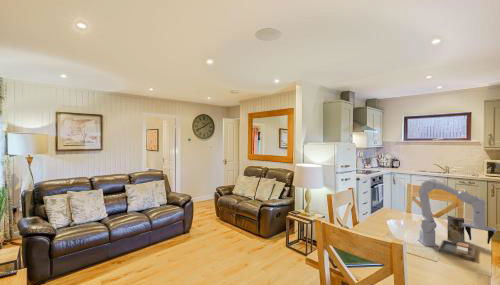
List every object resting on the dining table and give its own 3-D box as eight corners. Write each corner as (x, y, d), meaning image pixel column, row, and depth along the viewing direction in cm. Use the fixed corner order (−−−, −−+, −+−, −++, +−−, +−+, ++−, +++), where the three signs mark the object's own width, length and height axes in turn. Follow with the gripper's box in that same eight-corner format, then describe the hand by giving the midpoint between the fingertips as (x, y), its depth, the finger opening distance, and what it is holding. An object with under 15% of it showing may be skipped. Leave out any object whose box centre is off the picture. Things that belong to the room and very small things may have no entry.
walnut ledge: (454, 256, 146) (454, 252, 146) (456, 245, 161) (456, 242, 161) (474, 261, 140) (474, 258, 140) (475, 249, 154) (475, 246, 154)
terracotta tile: (457, 247, 154) (457, 244, 154) (458, 244, 157) (458, 242, 157) (468, 249, 150) (468, 246, 150) (468, 247, 154) (468, 244, 154)
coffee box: (464, 240, 168) (465, 218, 167) (464, 243, 163) (464, 220, 163) (447, 237, 174) (448, 215, 174) (447, 240, 169) (447, 217, 169)
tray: (439, 251, 152) (439, 248, 152) (442, 242, 165) (442, 239, 165) (454, 255, 147) (454, 252, 147) (456, 246, 160) (456, 243, 160)
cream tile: (456, 251, 148) (456, 248, 148) (457, 248, 152) (457, 246, 152) (467, 254, 145) (467, 251, 145) (468, 251, 148) (468, 248, 148)
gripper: (462, 217, 145) (462, 240, 145) (496, 223, 135) (496, 247, 135) (463, 215, 150) (463, 236, 150) (496, 220, 140) (496, 243, 140)
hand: (479, 241), depth 143 cm, fingers open, 7 cm apart
